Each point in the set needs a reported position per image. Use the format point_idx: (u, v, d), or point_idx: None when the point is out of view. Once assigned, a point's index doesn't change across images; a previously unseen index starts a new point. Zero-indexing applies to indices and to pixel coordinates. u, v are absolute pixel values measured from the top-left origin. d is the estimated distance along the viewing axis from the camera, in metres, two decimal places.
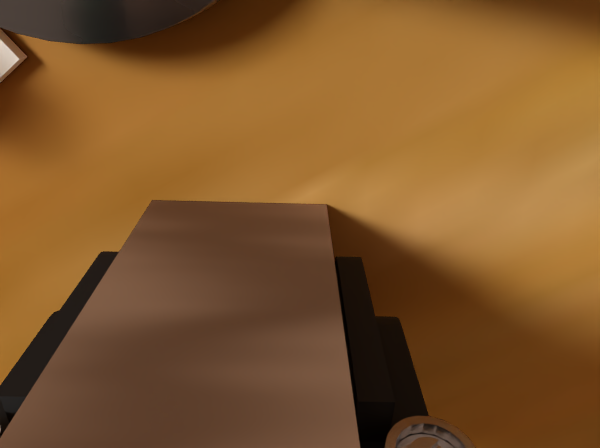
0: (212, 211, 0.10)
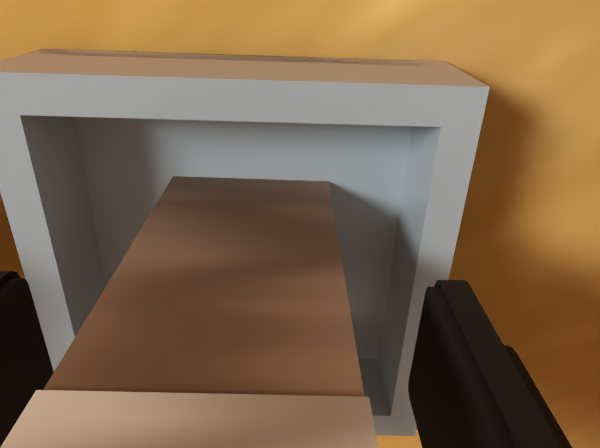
0: (227, 185, 0.12)
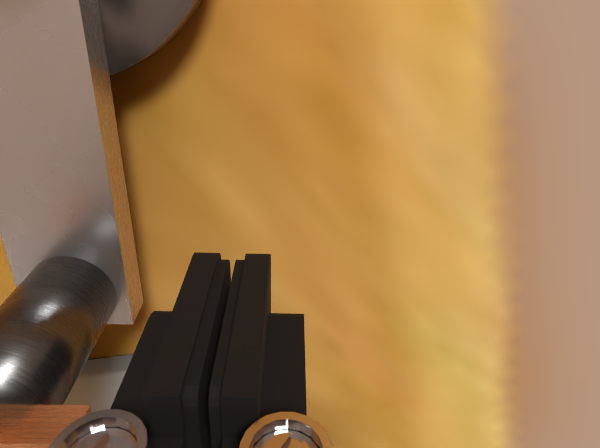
0: None
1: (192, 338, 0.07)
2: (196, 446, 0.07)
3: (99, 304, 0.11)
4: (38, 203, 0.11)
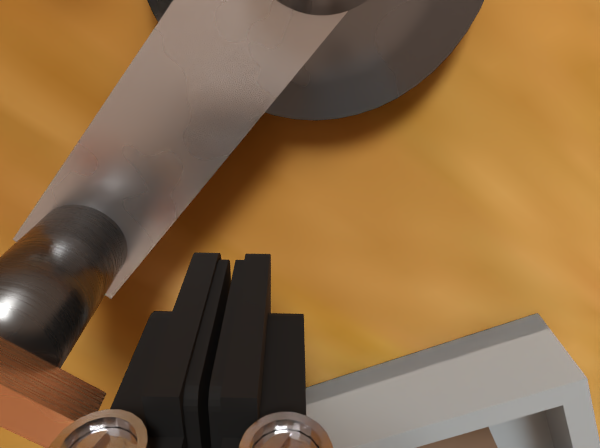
0: None
1: (192, 338, 0.07)
2: (196, 446, 0.07)
3: (113, 278, 0.11)
4: (125, 164, 0.11)
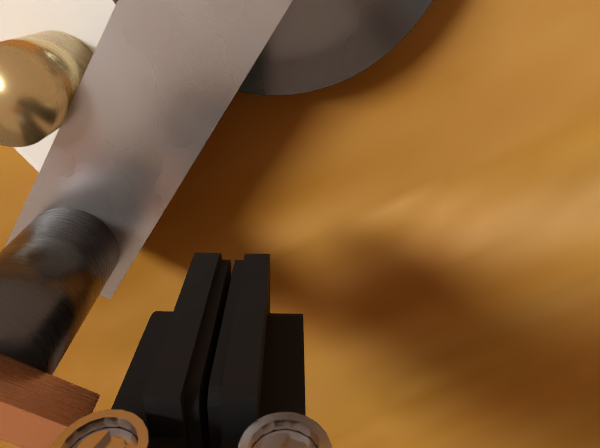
0: None
1: (193, 338, 0.07)
2: (197, 446, 0.07)
3: (106, 278, 0.11)
4: (102, 160, 0.11)
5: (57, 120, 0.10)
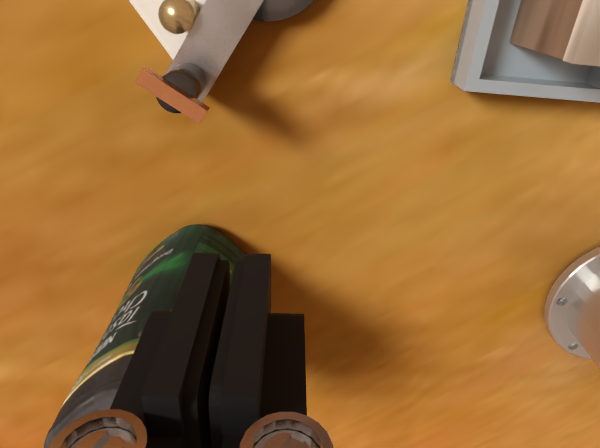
0: None
1: (191, 338, 0.07)
2: (196, 446, 0.07)
3: (203, 88, 0.30)
4: (204, 42, 0.29)
5: (191, 24, 0.28)
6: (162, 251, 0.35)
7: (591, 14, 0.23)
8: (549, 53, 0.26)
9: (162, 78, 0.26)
